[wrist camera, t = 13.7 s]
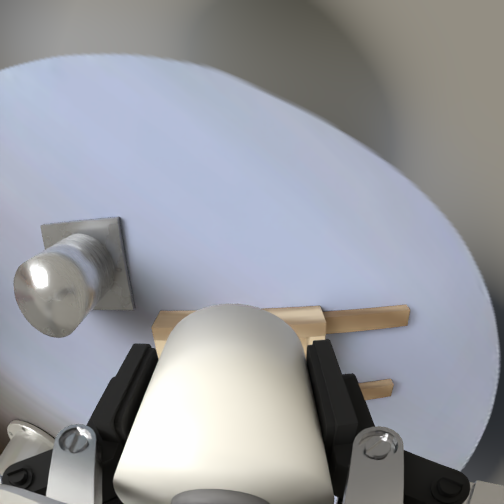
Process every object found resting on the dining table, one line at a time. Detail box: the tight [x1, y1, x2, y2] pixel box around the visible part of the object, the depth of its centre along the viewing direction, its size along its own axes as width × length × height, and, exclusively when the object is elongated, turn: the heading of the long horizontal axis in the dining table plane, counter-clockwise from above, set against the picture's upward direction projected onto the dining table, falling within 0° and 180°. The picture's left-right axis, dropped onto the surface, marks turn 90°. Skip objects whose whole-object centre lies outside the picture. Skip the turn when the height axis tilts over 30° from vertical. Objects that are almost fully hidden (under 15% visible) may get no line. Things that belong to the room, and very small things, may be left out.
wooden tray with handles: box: [151, 305, 410, 400], centre depth 27 cm, size 11×21×3 cm, turn 93°
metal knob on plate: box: [14, 217, 135, 338], centre depth 22 cm, size 8×8×7 cm
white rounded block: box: [113, 304, 334, 504], centre depth 8 cm, size 5×5×6 cm
